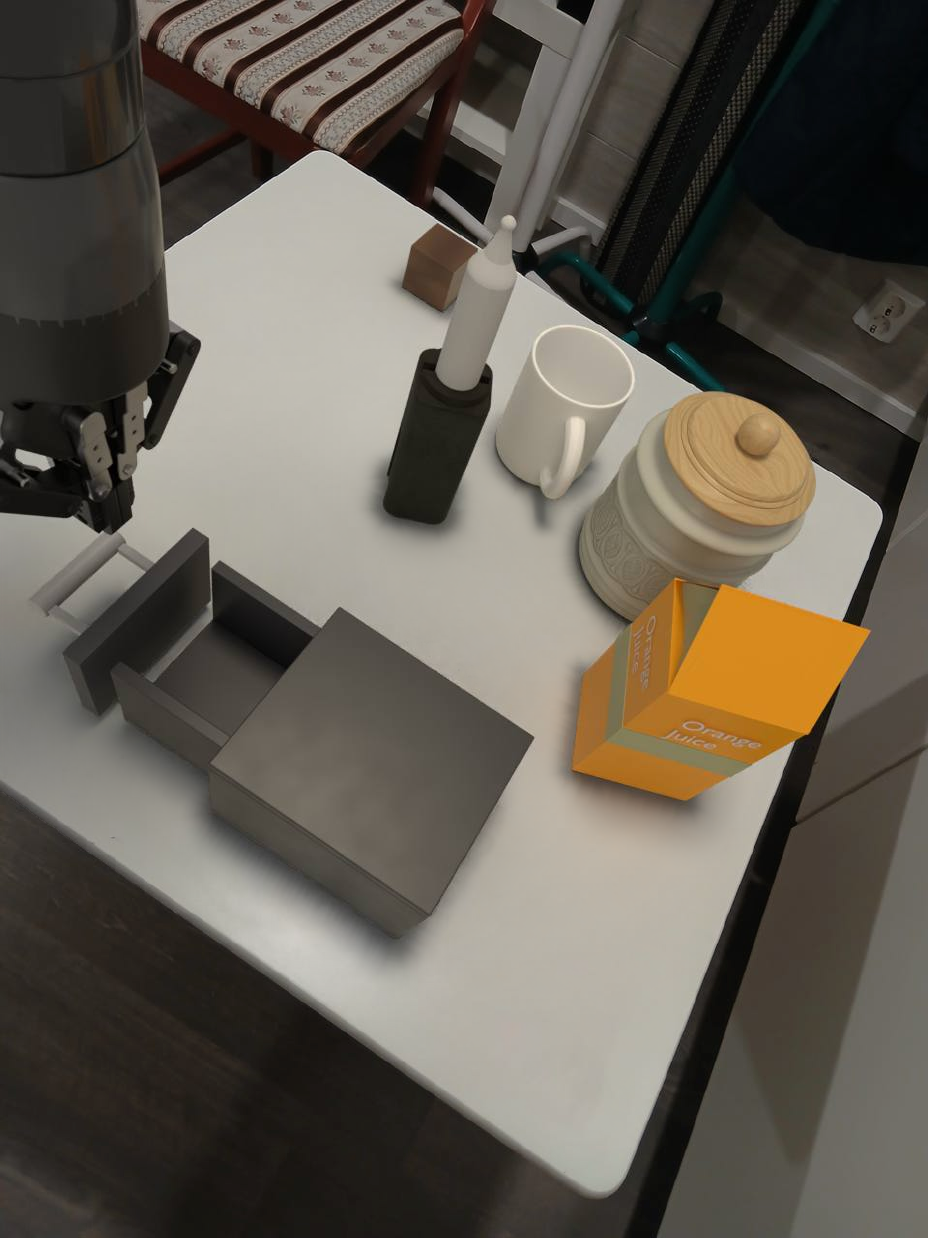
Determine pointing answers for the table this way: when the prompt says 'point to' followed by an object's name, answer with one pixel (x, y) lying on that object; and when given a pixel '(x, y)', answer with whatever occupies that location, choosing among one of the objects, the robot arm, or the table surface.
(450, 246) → the block
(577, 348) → the mug
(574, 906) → the table surface
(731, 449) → the jar
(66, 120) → the robot arm
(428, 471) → the candle
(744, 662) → the orange juice
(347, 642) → the fryer
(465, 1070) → the table surface
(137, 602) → the basket
